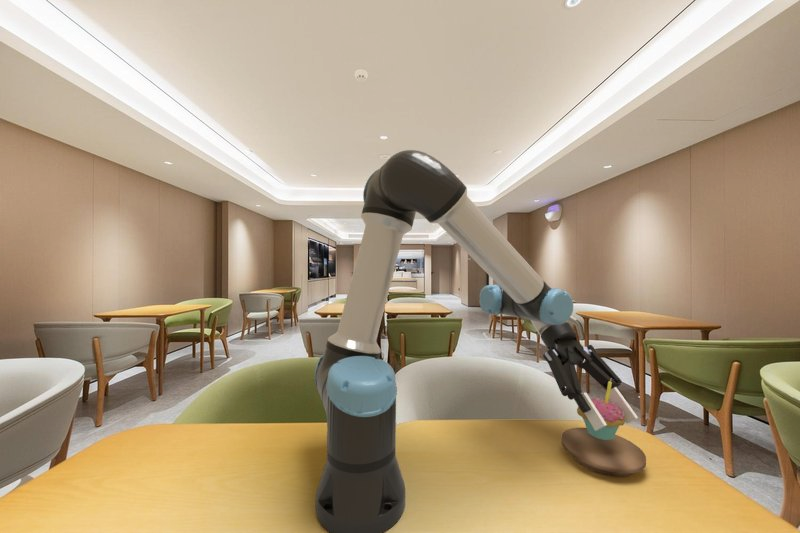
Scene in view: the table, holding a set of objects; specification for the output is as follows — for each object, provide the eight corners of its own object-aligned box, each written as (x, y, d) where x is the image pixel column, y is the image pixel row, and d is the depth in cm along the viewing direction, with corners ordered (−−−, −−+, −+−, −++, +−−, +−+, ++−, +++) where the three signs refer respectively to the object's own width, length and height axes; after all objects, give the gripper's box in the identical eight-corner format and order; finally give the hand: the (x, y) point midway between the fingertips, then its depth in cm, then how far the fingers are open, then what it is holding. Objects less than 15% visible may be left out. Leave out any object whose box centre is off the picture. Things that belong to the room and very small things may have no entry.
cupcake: (611, 425, 71) (611, 371, 71) (634, 447, 62) (635, 386, 62) (570, 423, 72) (570, 370, 72) (588, 444, 63) (589, 384, 63)
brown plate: (586, 483, 59) (586, 467, 59) (548, 440, 74) (548, 427, 74) (666, 484, 59) (666, 468, 59) (612, 440, 74) (612, 427, 74)
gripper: (576, 334, 85) (638, 422, 70) (512, 340, 78) (566, 440, 63) (594, 318, 80) (666, 408, 65) (527, 322, 73) (590, 426, 58)
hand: (617, 424), depth 64 cm, fingers closed on cupcake, 8 cm apart
